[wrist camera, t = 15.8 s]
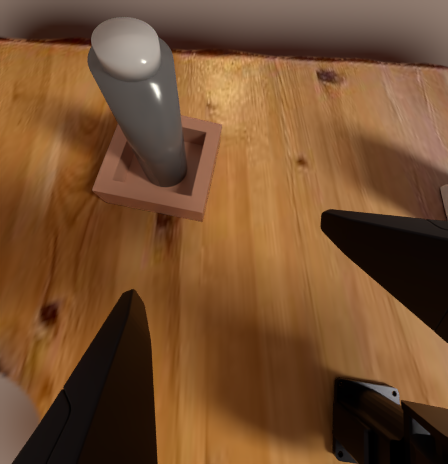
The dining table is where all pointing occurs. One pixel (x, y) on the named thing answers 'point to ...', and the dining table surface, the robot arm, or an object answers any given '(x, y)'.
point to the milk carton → (445, 197)
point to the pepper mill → (141, 95)
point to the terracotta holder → (154, 197)
